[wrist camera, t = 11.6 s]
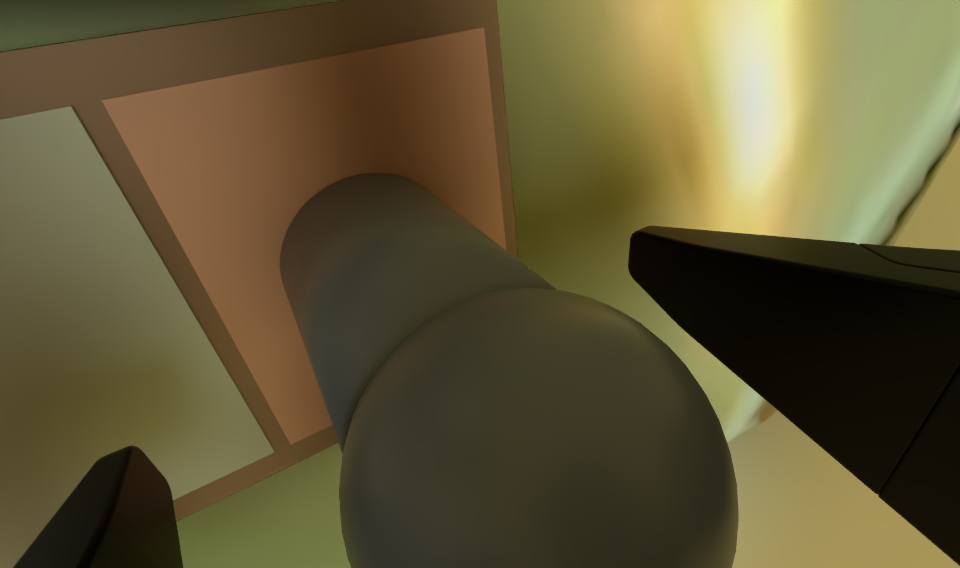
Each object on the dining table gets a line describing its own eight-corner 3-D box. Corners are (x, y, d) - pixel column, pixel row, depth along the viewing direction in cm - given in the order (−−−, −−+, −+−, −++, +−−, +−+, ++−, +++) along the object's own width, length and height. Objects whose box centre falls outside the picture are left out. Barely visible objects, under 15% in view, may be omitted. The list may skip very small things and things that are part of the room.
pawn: (302, 371, 11) (471, 896, 5) (226, 191, 8) (370, 814, 2) (472, 304, 13) (770, 619, 6) (452, 136, 10) (930, 379, 4)
